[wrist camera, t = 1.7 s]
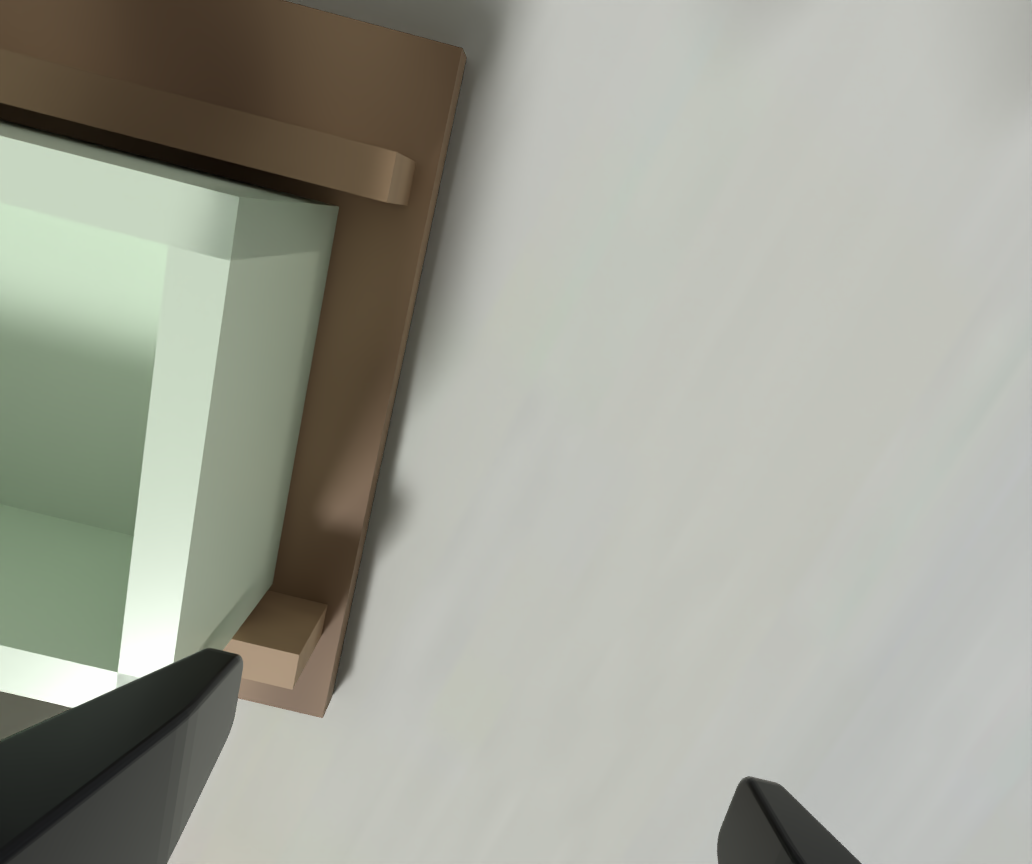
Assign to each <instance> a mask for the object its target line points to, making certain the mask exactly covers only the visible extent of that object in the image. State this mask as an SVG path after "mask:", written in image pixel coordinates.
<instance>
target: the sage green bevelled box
mask: <svg viewBox="0 0 1032 864" xmlns="http://www.w3.org/2000/svg"><path fill="white" fill-rule="evenodd" d="M338 211H339V206H335V205H331V204H328V203H324V202H320V201H316V200H312V199H308V198H304V197H300V196H297V195H293V194H289V193H285V192H281V191H277V190H273V189H269V188H266V187H262V186H258V185H254V184H250V183H246V182H242V181H238V180H234V179H231V178H227V177H223V176H219V175H215V174H211V173H207V172H203V171H200V170H196V169H192V168H188V167H184V166H180V165H176V164H172V163H169V162H165V161H161V160H157V159H153V158H149V157H145V156H141V155H137V154H134V153H130V152H126V151H122V150H118V149H114V148H110V147H106V146H103V145H99V144H95V143H91V142H87V141H83V140H79V139H75V138H72V137H68V136H64V135H60V134H56V133H52V132H48V131H44V130H40V129H37V128H33V127H29V126H25V125H21V124H17V123H13V122H9V121H6V120H2V119H0V691H2V692H7V693H11V694H15V695H20V696H24V697H28V698H33V699H37V700H41V701H45V702H50V703H54V704H58V705H63V706H67V707H71V708H74V707H76V706H78V705H81V704H83V703H85V702H87V701H89V700H92V699H94V698H96V697H98V696H100V695H103V694H105V693H107V692H109V691H112V690H114V689H116V688H118V687H120V686H123V685H125V684H127V683H129V682H132V681H134V680H136V679H138V678H140V677H143V676H145V675H147V674H149V673H152V672H154V671H156V670H158V669H160V668H163V667H165V666H167V665H169V664H172V663H174V662H176V661H178V660H180V659H183V658H185V657H187V656H189V655H191V654H194V653H196V652H198V651H200V650H203V649H206V648H214V649H218V650H223V649H224V648H225V647H226V645H227V644H228V643H229V641H230V640H231V639H232V637H233V636H234V635H235V633H236V632H237V631H238V629H239V628H240V627H241V625H242V624H243V623H244V621H245V620H246V619H247V617H248V616H249V615H250V613H251V612H252V611H253V609H254V608H255V607H256V605H257V604H258V603H259V601H260V600H261V599H262V597H263V596H264V595H265V593H266V592H267V591H268V589H269V588H270V587H271V585H272V584H273V578H274V572H275V567H276V561H277V556H278V550H279V544H280V539H281V533H282V527H283V522H284V516H285V510H286V505H287V499H288V493H289V488H290V482H291V476H292V471H293V465H294V459H295V454H296V448H297V443H298V437H299V431H300V426H301V420H302V414H303V409H304V403H305V397H306V392H307V386H308V380H309V375H310V369H311V363H312V358H313V352H314V346H315V341H316V335H317V330H318V324H319V318H320V313H321V307H322V301H323V296H324V290H325V284H326V279H327V273H328V267H329V262H330V256H331V250H332V245H333V239H334V233H335V228H336V222H337V217H338Z"/></svg>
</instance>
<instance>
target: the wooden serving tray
mask: <svg viewBox="0 0 1032 864" xmlns="http://www.w3.org/2000/svg"><path fill="white" fill-rule="evenodd" d="M466 58H467V57H466V55H465V53H464V51H463V48H460V47H456V46H453V45H449V44H445V43H441V42H438V41H434V40H430V39H426V38H423V37H419V36H415V35H411V34H408V33H404V32H400V31H397V30H393V29H389V28H385V27H382V26H378V25H374V24H370V23H367V22H363V21H359V20H355V19H352V18H348V17H344V16H340V15H337V14H333V13H329V12H325V11H322V10H318V9H314V8H310V7H307V6H303V5H299V4H295V3H292V2H288V1H284V0H0V119H2V120H6V121H9V122H13V123H17V124H21V125H25V126H29V127H33V128H37V129H40V130H44V131H48V132H52V133H56V134H60V135H64V136H68V137H72V138H75V139H79V140H83V141H87V142H91V143H95V144H99V145H103V146H106V147H110V148H114V149H118V150H122V151H126V152H130V153H134V154H137V155H141V156H145V157H149V158H153V159H157V160H161V161H165V162H169V163H172V164H176V165H180V166H184V167H188V168H192V169H196V170H200V171H203V172H207V173H211V174H215V175H219V176H223V177H227V178H231V179H234V180H238V181H242V182H246V183H250V184H254V185H258V186H262V187H266V188H269V189H273V190H277V191H281V192H285V193H289V194H293V195H297V196H300V197H304V198H308V199H312V200H316V201H320V202H324V203H328V204H331V205H335V206H339V211H338V217H337V222H336V228H335V233H334V239H333V245H332V250H331V256H330V262H329V267H328V273H327V279H326V284H325V290H324V296H323V301H322V307H321V313H320V318H319V324H318V330H317V335H316V341H315V346H314V352H313V358H312V363H311V369H310V375H309V380H308V386H307V392H306V397H305V403H304V409H303V414H302V420H301V426H300V431H299V437H298V443H297V448H296V454H295V459H294V465H293V471H292V476H291V482H290V488H289V493H288V499H287V505H286V510H285V516H284V522H283V527H282V533H281V539H280V544H279V550H278V556H277V561H276V567H275V572H274V578H273V584H272V585H271V587H270V588H269V589H268V591H267V592H266V593H265V595H264V596H263V597H262V599H261V600H260V601H259V603H258V604H257V605H256V607H255V608H254V609H253V611H252V612H251V613H250V615H249V616H248V617H247V619H246V620H245V621H244V623H243V624H242V625H241V627H240V628H239V629H238V631H237V632H236V633H235V635H234V636H233V637H232V639H231V640H230V641H229V643H228V644H227V645H226V647H225V648H224V649H223V651H227V652H231V653H235V654H238V655H240V656H241V657H242V659H243V671H242V677H241V683H240V689H239V694H238V698H239V699H244V700H248V701H252V702H256V703H261V704H265V705H269V706H274V707H278V708H282V709H286V710H291V711H295V712H299V713H304V714H308V715H312V716H316V717H321V718H323V716H324V714H325V712H326V709H327V707H328V705H329V703H330V700H331V698H332V695H333V690H334V685H335V680H336V676H337V671H338V666H339V661H340V657H341V652H342V647H343V642H344V638H345V633H346V628H347V623H348V619H349V614H350V609H351V604H352V600H353V595H354V590H355V585H356V581H357V576H358V571H359V566H360V562H361V557H362V552H363V547H364V543H365V538H366V533H367V528H368V524H369V519H370V514H371V509H372V505H373V500H374V495H375V490H376V486H377V481H378V476H379V471H380V467H381V462H382V457H383V452H384V448H385V443H386V438H387V433H388V429H389V424H390V419H391V414H392V410H393V405H394V400H395V395H396V391H397V386H398V381H399V376H400V372H401V367H402V362H403V357H404V353H405V348H406V343H407V338H408V334H409V329H410V324H411V319H412V315H413V310H414V305H415V300H416V296H417V291H418V286H419V281H420V277H421V272H422V267H423V262H424V258H425V253H426V248H427V243H428V239H429V234H430V229H431V224H432V220H433V215H434V210H435V205H436V201H437V196H438V191H439V186H440V182H441V177H442V172H443V168H444V163H445V158H446V153H447V149H448V144H449V139H450V134H451V130H452V125H453V120H454V115H455V111H456V106H457V101H458V96H459V92H460V87H461V82H462V77H463V73H464V68H465V63H466Z"/></svg>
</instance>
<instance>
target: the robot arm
mask: <svg viewBox="0 0 1032 864" xmlns="http://www.w3.org/2000/svg"><path fill="white" fill-rule="evenodd" d="M242 671H243V659H242V657H241V656H240V655H238V654H235V653H231V652H227V651H223V650H218V649H214V648H206V649H203V650H200V651H198V652H196V653H194V654H191V655H189V656H187V657H185V658H183V659H180V660H178V661H176V662H174V663H172V664H169V665H167V666H165V667H163V668H160V669H158V670H156V671H154V672H152V673H149V674H147V675H145V676H143V677H140V678H138V679H136V680H134V681H132V682H129V683H127V684H125V685H123V686H120V687H118V688H116V689H114V690H112V691H109V692H107V693H105V694H103V695H100V696H98V697H96V698H94V699H92V700H89V701H87V702H85V703H83V704H81V705H78V706H76V707H74V708H72V709H69V710H67V711H65V712H63V713H61V714H58V715H56V716H54V717H52V718H49V719H47V720H45V721H43V722H41V723H38V724H36V725H34V726H32V727H29V728H27V729H25V730H23V731H21V732H18V733H16V734H14V735H12V736H10V737H7V738H5V739H3V740H1V741H0V864H167V862H168V860H169V858H170V856H171V854H172V852H173V850H174V848H175V846H176V844H177V842H178V840H179V838H180V836H181V834H182V832H183V830H184V828H185V826H186V824H187V822H188V819H189V817H190V815H191V813H192V811H193V809H194V807H195V805H196V803H197V801H198V799H199V796H200V794H201V792H202V790H203V788H204V786H205V784H206V782H207V780H208V778H209V776H210V773H211V771H212V769H213V767H214V765H215V763H216V761H217V759H218V757H219V755H220V753H221V750H222V748H223V746H224V744H225V742H226V740H227V738H228V735H229V733H230V730H231V727H232V724H233V721H234V717H235V712H236V706H237V700H238V694H239V689H240V683H241V677H242ZM717 856H718V864H862V863H861V862H859V861H858V860H857V859H856V858H855V857H854V856H853V855H852V854H851V853H850V852H849V851H848V850H847V849H846V848H845V847H844V846H843V845H842V844H841V843H840V842H839V841H838V840H837V839H836V838H835V837H834V836H833V835H832V834H831V833H830V832H829V831H828V830H827V829H826V828H825V827H824V826H823V825H822V824H821V823H819V822H818V821H817V820H816V819H815V818H814V817H813V816H812V815H811V814H810V813H809V812H808V811H807V810H806V809H805V808H804V807H803V806H802V805H801V804H800V803H799V802H798V801H797V800H796V799H795V798H794V797H793V796H792V795H791V794H790V793H789V792H788V791H787V790H786V789H785V788H784V787H782V786H781V785H780V784H778V783H776V782H771V781H767V780H763V779H759V778H755V777H750V776H748V777H745V778H743V779H742V780H741V781H740V783H739V784H738V786H737V789H736V791H735V794H734V796H733V799H732V801H731V804H730V806H729V809H728V811H727V814H726V816H725V819H724V821H723V824H722V826H721V829H720V832H719V836H718V843H717Z"/></svg>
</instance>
